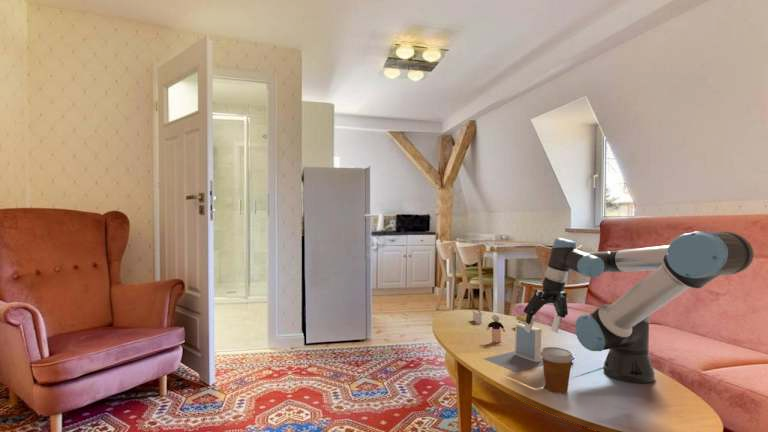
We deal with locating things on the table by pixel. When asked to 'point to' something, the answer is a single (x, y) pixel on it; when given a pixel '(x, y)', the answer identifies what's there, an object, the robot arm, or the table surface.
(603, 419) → the table surface
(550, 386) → the disposable coffee cup
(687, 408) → the table surface
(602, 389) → the table surface
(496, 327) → the grandmother figurine
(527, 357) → the tile
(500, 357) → the mat
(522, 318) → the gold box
